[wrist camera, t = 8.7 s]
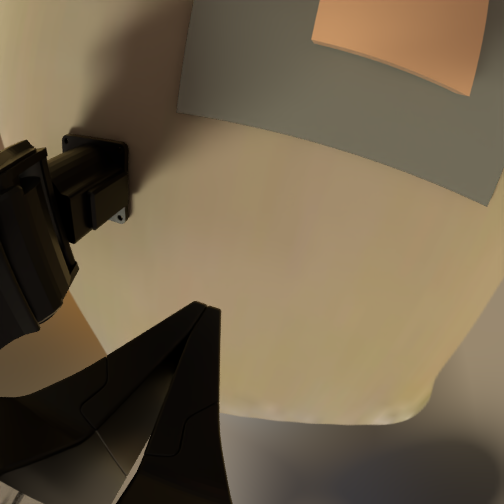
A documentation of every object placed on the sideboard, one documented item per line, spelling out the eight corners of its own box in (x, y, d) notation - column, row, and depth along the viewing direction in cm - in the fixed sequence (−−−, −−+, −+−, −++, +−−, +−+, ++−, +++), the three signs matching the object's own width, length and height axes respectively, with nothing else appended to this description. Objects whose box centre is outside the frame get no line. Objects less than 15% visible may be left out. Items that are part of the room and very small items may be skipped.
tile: (311, 39, 12) (469, 96, 11) (335, -76, 8) (490, -18, 7) (314, 44, 14) (454, 93, 13) (336, -60, 10) (474, -10, 9)
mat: (180, 111, 18) (176, 112, 18) (231, -123, 8) (228, -127, 8) (483, 203, 16) (486, 206, 16) (537, -31, 6) (541, -33, 5)
